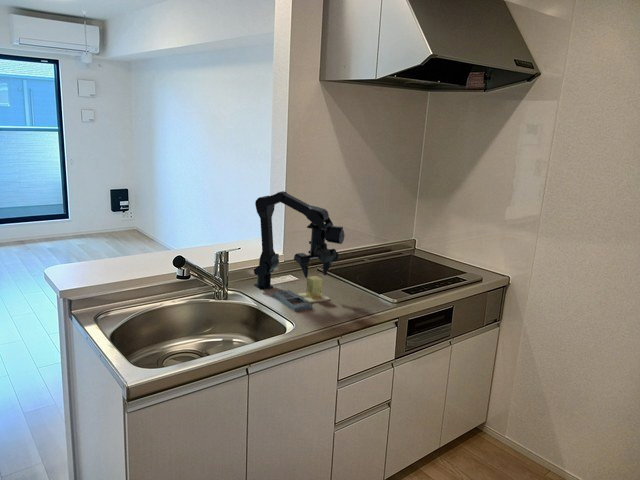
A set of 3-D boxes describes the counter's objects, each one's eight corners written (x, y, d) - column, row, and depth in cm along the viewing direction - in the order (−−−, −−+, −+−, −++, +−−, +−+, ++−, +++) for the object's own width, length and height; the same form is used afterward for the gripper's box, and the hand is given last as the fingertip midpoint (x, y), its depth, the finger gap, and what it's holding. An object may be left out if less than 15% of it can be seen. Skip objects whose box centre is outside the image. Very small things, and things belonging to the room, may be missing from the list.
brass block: (305, 295, 206) (307, 277, 204) (314, 293, 208) (316, 275, 206) (311, 298, 202) (313, 280, 200) (320, 297, 204) (322, 279, 203)
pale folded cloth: (296, 295, 206) (297, 293, 206) (316, 291, 212) (316, 290, 212) (309, 303, 198) (309, 302, 198) (329, 299, 204) (330, 298, 204)
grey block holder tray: (272, 296, 203) (272, 292, 203) (289, 293, 208) (289, 289, 207) (294, 311, 189) (294, 307, 189) (312, 308, 193) (312, 304, 193)
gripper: (309, 246, 187) (306, 285, 191) (348, 242, 198) (345, 279, 202) (294, 239, 196) (292, 276, 200) (332, 236, 207) (329, 271, 210)
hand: (315, 276), depth 203 cm, fingers open, 9 cm apart
